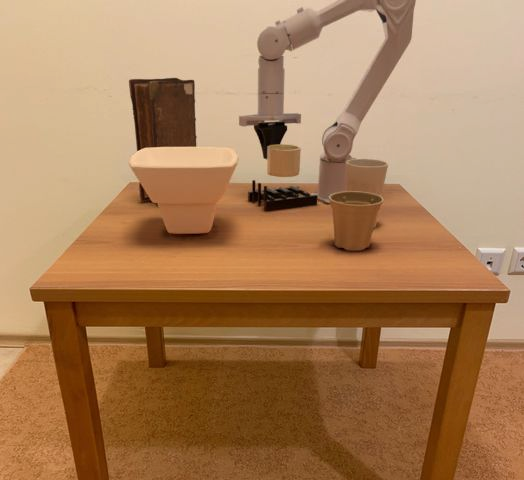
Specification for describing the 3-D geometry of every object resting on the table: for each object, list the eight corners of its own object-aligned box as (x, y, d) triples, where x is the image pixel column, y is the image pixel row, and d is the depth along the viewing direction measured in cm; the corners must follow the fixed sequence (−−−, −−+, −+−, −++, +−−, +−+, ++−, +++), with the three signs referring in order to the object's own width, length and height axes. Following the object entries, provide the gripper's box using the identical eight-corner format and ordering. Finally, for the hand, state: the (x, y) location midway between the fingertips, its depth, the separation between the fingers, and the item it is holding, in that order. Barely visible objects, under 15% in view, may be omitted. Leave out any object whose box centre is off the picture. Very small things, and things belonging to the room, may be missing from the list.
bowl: (241, 246, 92) (240, 165, 85) (132, 248, 91) (121, 166, 83) (238, 216, 108) (237, 146, 101) (145, 217, 107) (137, 146, 99)
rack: (296, 195, 124) (297, 174, 121) (317, 205, 116) (318, 182, 114) (247, 201, 119) (247, 178, 116) (265, 211, 111) (266, 188, 109)
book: (187, 188, 128) (180, 76, 116) (209, 192, 125) (204, 77, 112) (137, 202, 117) (123, 79, 104) (159, 207, 113) (148, 80, 100)
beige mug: (304, 175, 112) (306, 149, 109) (275, 178, 110) (276, 151, 107) (282, 165, 121) (283, 140, 118) (254, 167, 118) (254, 142, 115)
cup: (387, 224, 104) (396, 162, 98) (366, 233, 99) (373, 168, 93) (355, 216, 109) (361, 157, 103) (332, 224, 104) (337, 162, 98)
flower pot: (345, 257, 87) (350, 207, 83) (315, 241, 94) (318, 194, 90) (388, 249, 91) (395, 200, 87) (356, 234, 98) (361, 188, 94)
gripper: (248, 95, 105) (248, 164, 112) (309, 93, 111) (305, 159, 117) (234, 92, 110) (235, 158, 117) (293, 91, 116) (291, 154, 123)
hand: (269, 158), depth 118 cm, fingers closed on beige mug
